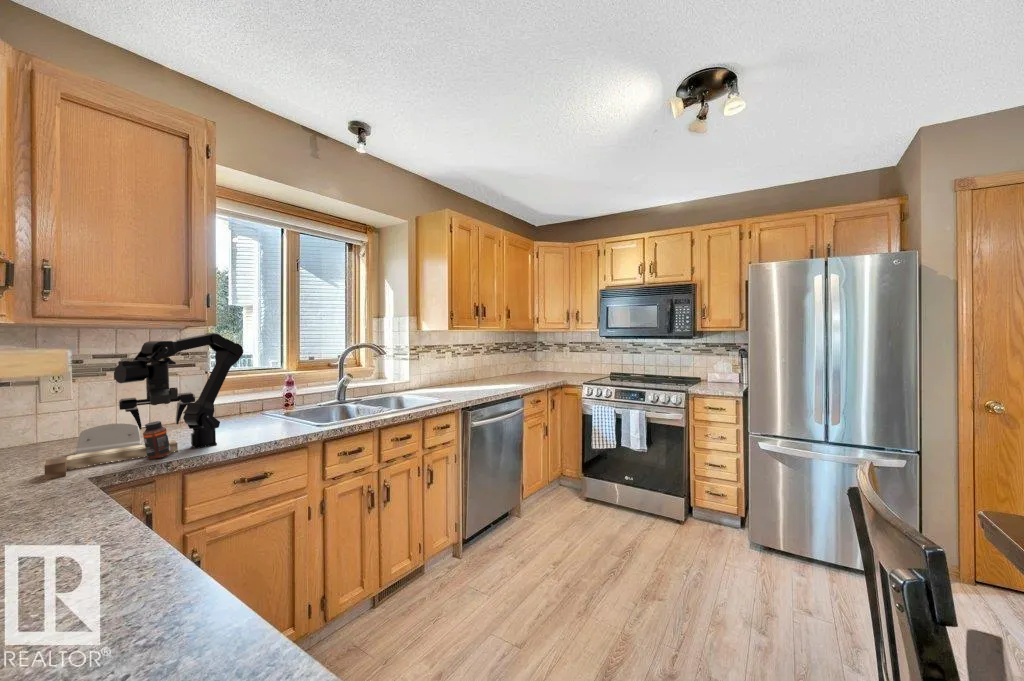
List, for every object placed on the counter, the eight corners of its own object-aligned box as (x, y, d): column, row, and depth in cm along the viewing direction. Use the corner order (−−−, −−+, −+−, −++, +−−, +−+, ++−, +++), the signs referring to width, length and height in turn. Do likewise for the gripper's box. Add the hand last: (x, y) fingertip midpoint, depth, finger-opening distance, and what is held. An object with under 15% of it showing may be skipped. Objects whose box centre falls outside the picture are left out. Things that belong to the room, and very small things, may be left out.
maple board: (175, 448, 147) (174, 439, 147) (177, 451, 143) (177, 442, 143) (67, 465, 129) (67, 455, 129) (66, 470, 125) (66, 459, 125)
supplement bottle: (175, 451, 140) (169, 419, 139) (163, 458, 135) (156, 424, 133) (156, 453, 140) (149, 421, 138) (142, 460, 134) (136, 426, 132)
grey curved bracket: (74, 456, 138) (75, 426, 141) (77, 458, 142) (78, 428, 144) (141, 447, 149) (141, 419, 151) (142, 449, 152) (142, 421, 155)
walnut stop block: (66, 470, 124) (66, 457, 124) (65, 476, 120) (65, 462, 119) (46, 473, 122) (46, 460, 121) (44, 479, 117) (44, 465, 117)
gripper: (119, 384, 124) (121, 436, 125) (197, 378, 137) (198, 425, 138) (118, 381, 132) (119, 430, 133) (191, 376, 145) (193, 420, 146)
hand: (159, 426), depth 137 cm, fingers open, 9 cm apart
